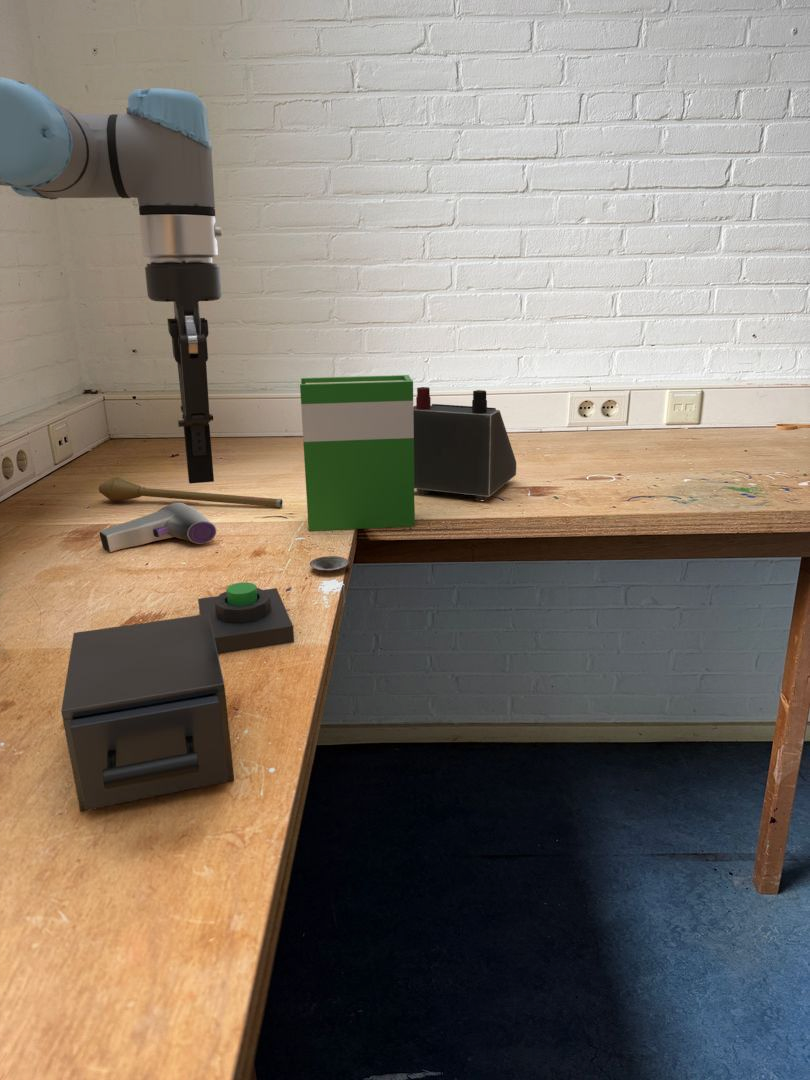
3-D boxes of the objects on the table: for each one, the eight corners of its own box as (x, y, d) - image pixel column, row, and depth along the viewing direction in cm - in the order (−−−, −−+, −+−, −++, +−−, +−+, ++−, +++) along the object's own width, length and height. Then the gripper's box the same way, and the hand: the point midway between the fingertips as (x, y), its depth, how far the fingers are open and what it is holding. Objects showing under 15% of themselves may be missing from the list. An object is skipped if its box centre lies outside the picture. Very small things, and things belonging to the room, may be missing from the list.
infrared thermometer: (101, 551, 127) (187, 524, 136) (131, 572, 118) (222, 542, 127) (95, 524, 125) (183, 499, 134) (125, 543, 116) (217, 515, 125)
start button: (225, 597, 98) (224, 584, 97) (255, 593, 99) (254, 580, 98) (229, 609, 94) (227, 595, 94) (259, 604, 96) (258, 591, 95)
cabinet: (234, 780, 69) (224, 683, 66) (79, 812, 66) (60, 710, 62) (218, 697, 82) (209, 613, 79) (88, 720, 79) (73, 632, 76)
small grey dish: (321, 580, 112) (320, 572, 111) (304, 568, 116) (303, 561, 116) (355, 572, 114) (355, 564, 114) (337, 560, 119) (337, 553, 118)
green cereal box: (308, 531, 132) (300, 384, 124) (309, 517, 139) (301, 378, 131) (414, 526, 133) (413, 381, 125) (410, 512, 140) (408, 374, 132)
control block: (199, 614, 102) (196, 585, 100) (277, 603, 105) (275, 575, 103) (207, 656, 91) (204, 624, 90) (294, 642, 94) (292, 611, 92)
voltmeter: (516, 481, 158) (519, 379, 151) (489, 504, 144) (491, 393, 138) (441, 473, 165) (441, 376, 158) (408, 494, 151) (406, 388, 144)
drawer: (233, 813, 64) (224, 729, 61) (82, 845, 61) (65, 758, 58) (213, 702, 80) (205, 632, 77) (92, 723, 77) (80, 650, 74)
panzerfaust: (277, 492, 141) (285, 488, 146) (93, 478, 146) (106, 473, 151) (277, 518, 143) (285, 513, 147) (94, 503, 148) (108, 498, 152)
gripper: (225, 261, 78) (241, 493, 86) (213, 260, 90) (228, 465, 98) (145, 261, 76) (169, 499, 84) (143, 260, 87) (164, 469, 95)
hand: (201, 480), depth 91 cm, fingers closed
